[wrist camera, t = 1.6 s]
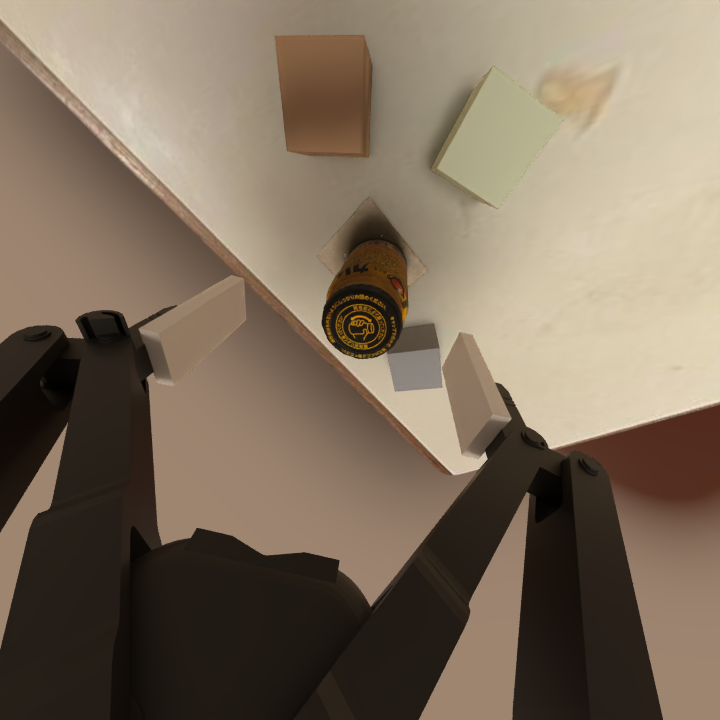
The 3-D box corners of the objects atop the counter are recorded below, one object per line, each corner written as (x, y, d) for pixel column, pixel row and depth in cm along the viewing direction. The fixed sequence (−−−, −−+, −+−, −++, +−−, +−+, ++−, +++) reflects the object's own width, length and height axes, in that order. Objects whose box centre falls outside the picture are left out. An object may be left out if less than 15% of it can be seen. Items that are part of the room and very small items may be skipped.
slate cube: (389, 329, 30) (387, 354, 26) (434, 323, 29) (439, 348, 25) (395, 364, 33) (394, 391, 29) (437, 360, 31) (442, 387, 27)
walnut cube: (302, 66, 19) (274, 36, 14) (372, 66, 18) (364, 35, 14) (308, 155, 21) (287, 151, 17) (368, 157, 21) (361, 153, 17)
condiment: (373, 314, 29) (358, 385, 19) (316, 255, 26) (265, 304, 16) (428, 270, 25) (444, 329, 16) (369, 196, 22) (344, 213, 13)
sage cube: (473, 89, 18) (493, 65, 14) (529, 130, 19) (563, 119, 15) (430, 169, 21) (436, 168, 17) (480, 202, 22) (498, 209, 18)
